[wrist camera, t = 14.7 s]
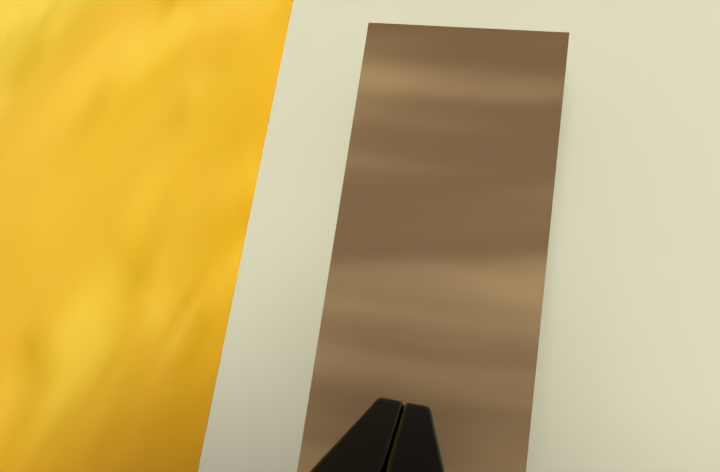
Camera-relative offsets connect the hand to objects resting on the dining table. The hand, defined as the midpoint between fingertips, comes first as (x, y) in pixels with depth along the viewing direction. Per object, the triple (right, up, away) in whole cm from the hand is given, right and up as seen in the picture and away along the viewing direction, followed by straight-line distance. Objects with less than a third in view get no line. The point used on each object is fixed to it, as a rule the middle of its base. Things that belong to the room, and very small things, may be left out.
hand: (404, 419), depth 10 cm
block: (+2, +8, +7) cm, 11 cm away
